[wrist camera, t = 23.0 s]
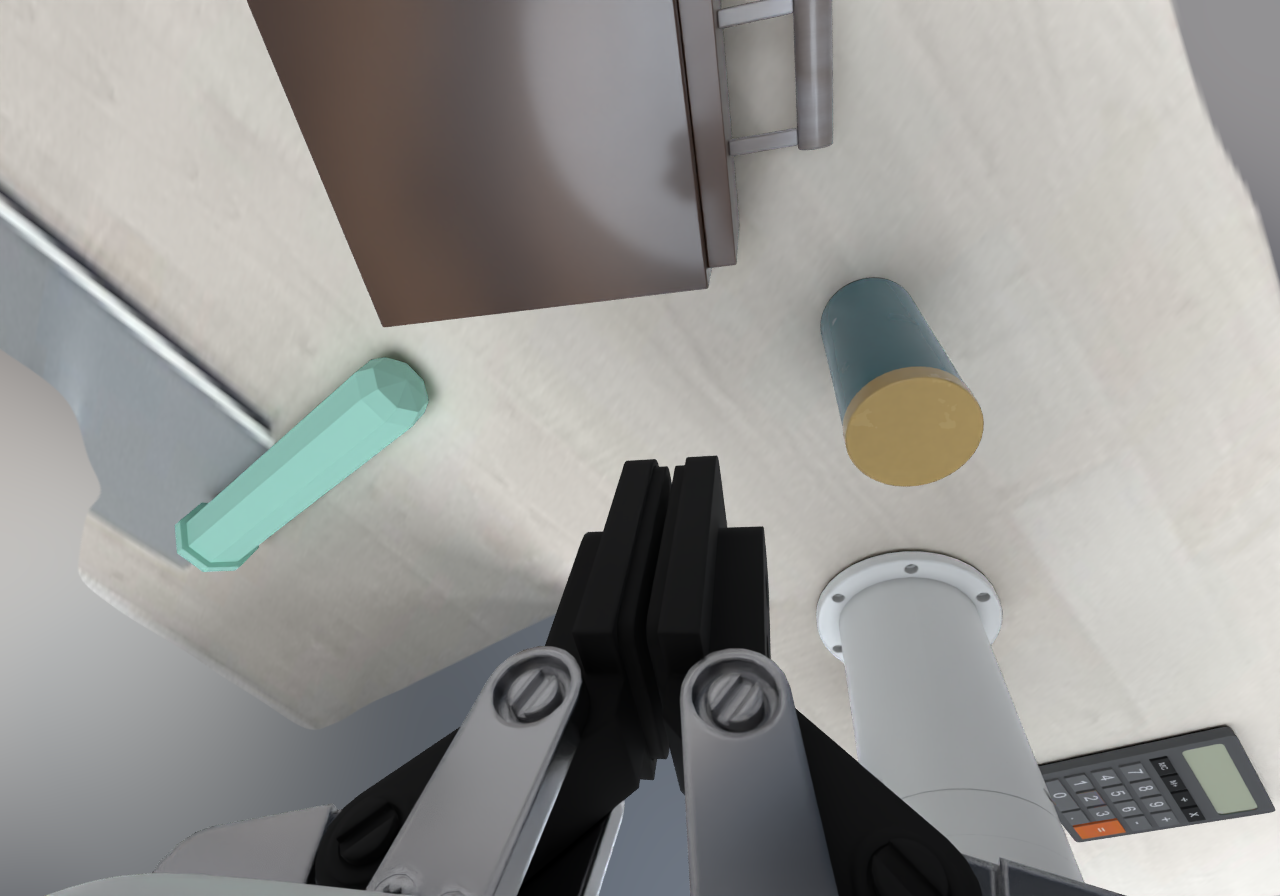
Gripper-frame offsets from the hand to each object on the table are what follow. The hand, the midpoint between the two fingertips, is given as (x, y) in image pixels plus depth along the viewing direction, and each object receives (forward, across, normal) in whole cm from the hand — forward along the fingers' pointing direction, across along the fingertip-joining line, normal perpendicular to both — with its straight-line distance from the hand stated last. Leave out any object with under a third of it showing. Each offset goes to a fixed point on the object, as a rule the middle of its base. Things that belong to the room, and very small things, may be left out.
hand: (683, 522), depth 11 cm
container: (+25, +32, +13) cm, 42 cm away
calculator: (+25, -30, +51) cm, 64 cm away
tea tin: (+25, -7, +7) cm, 27 cm away
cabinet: (+25, +8, -6) cm, 27 cm away
